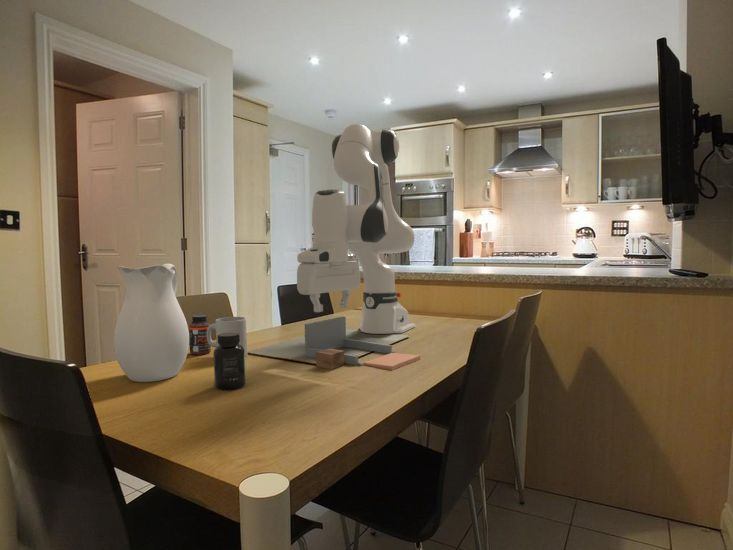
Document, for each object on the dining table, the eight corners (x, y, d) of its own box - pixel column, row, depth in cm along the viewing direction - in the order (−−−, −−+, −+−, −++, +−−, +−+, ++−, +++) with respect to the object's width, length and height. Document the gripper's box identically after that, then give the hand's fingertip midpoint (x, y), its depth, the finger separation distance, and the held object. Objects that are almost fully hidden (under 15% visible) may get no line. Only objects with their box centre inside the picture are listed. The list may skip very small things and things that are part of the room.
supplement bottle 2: (251, 383, 111) (250, 332, 110) (234, 392, 104) (232, 338, 103) (227, 380, 113) (225, 330, 112) (208, 389, 106) (206, 336, 106)
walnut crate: (329, 367, 124) (329, 348, 124) (344, 370, 121) (344, 350, 121) (316, 371, 120) (316, 352, 120) (331, 374, 117) (331, 354, 117)
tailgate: (363, 362, 121) (392, 366, 115) (392, 352, 131) (420, 355, 126) (363, 366, 121) (392, 370, 115) (392, 356, 131) (420, 359, 126)
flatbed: (305, 359, 132) (304, 324, 131) (343, 349, 144) (342, 316, 144) (360, 370, 120) (359, 331, 119) (396, 357, 132) (395, 322, 132)
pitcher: (173, 385, 109) (167, 265, 107) (101, 386, 110) (94, 266, 108) (209, 360, 133) (205, 260, 131) (150, 360, 134) (145, 261, 132)
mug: (252, 353, 140) (251, 316, 139) (238, 361, 132) (236, 321, 131) (215, 352, 143) (214, 316, 142) (199, 359, 134) (198, 320, 134)
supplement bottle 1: (198, 356, 138) (197, 317, 137) (185, 354, 141) (184, 316, 140) (215, 352, 143) (213, 314, 142) (202, 350, 146) (200, 313, 145)
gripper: (347, 253, 129) (348, 304, 129) (292, 255, 112) (293, 313, 113) (365, 253, 125) (366, 306, 126) (311, 255, 108) (312, 315, 109)
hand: (331, 309), depth 119 cm, fingers open, 8 cm apart
